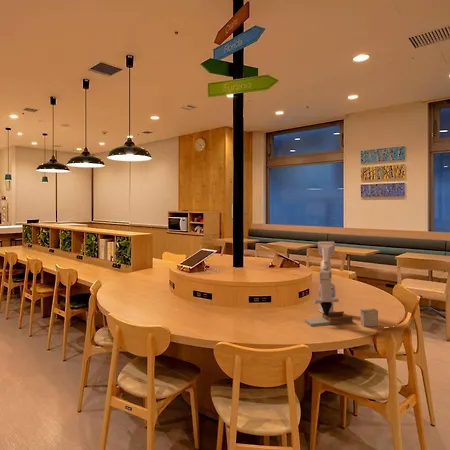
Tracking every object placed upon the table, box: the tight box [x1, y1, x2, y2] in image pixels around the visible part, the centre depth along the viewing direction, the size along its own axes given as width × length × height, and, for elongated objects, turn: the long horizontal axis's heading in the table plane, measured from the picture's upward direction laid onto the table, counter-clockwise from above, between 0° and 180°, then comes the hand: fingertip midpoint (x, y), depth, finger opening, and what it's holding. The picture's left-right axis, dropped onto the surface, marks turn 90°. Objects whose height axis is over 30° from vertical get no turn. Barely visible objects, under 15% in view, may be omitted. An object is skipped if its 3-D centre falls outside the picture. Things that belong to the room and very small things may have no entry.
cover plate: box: [304, 317, 331, 327], centre depth 201 cm, size 8×11×2 cm
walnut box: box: [322, 310, 353, 326], centre depth 203 cm, size 10×13×4 cm
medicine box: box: [360, 308, 379, 328], centre depth 195 cm, size 8×4×9 cm, turn 92°
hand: (326, 315), depth 202 cm, fingers closed
